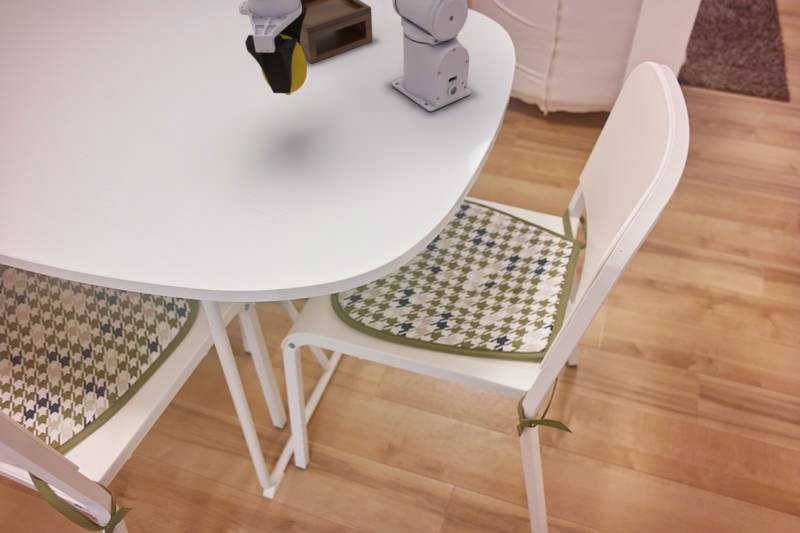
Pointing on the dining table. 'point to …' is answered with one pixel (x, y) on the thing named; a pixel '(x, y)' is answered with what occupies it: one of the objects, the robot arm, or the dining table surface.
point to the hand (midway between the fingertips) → (286, 78)
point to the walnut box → (334, 27)
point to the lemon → (296, 67)
